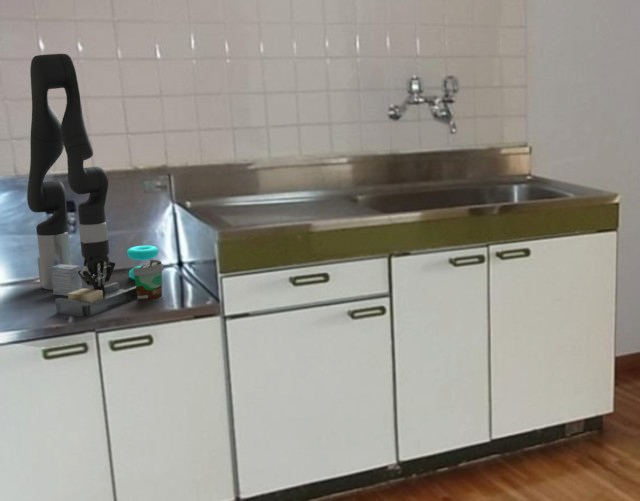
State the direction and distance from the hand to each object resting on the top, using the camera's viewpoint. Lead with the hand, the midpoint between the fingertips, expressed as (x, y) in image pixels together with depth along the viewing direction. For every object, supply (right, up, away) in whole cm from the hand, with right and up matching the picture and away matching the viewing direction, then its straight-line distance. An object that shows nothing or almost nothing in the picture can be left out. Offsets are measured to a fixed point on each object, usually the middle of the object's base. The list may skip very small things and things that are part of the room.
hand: (99, 298), depth 211 cm
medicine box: (-14, 0, +13) cm, 19 cm away
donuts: (+5, +5, +31) cm, 32 cm away
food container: (+14, 0, +7) cm, 16 cm away
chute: (0, -2, +1) cm, 2 cm away
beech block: (-2, -2, -5) cm, 5 cm away
